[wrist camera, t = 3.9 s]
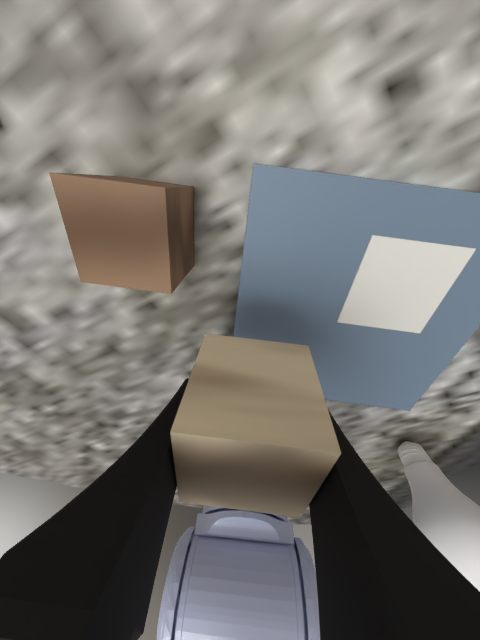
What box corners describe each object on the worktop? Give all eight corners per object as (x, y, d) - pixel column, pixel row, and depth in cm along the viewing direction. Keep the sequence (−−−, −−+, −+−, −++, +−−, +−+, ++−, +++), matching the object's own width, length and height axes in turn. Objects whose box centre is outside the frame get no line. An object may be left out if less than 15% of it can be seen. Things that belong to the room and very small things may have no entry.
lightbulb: (369, 454, 27) (427, 596, 18) (388, 423, 24) (472, 578, 14) (420, 459, 27) (507, 606, 17) (447, 429, 24) (571, 590, 14)
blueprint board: (406, 405, 22) (410, 411, 22) (228, 381, 22) (227, 386, 22) (565, 205, 13) (579, 206, 12) (253, 164, 13) (253, 163, 12)
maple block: (287, 410, 13) (300, 517, 9) (204, 400, 13) (179, 502, 9) (308, 345, 11) (340, 453, 6) (205, 333, 11) (170, 432, 6)
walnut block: (194, 265, 16) (171, 293, 12) (127, 256, 16) (80, 281, 12) (194, 186, 14) (164, 187, 9) (114, 176, 14) (49, 172, 9)
